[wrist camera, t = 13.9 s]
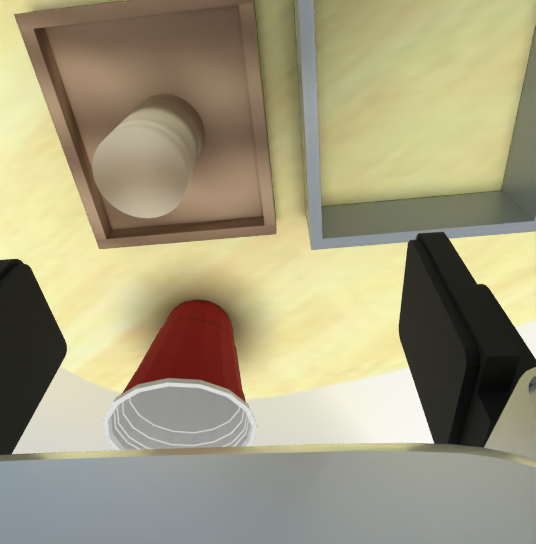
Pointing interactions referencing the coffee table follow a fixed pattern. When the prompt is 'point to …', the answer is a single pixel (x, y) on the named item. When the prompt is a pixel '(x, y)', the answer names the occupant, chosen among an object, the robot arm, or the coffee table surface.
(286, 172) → the coffee table surface
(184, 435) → the plastic cup
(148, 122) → the beige grooved cylinder
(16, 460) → the robot arm
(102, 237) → the tray
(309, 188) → the grey square frame
